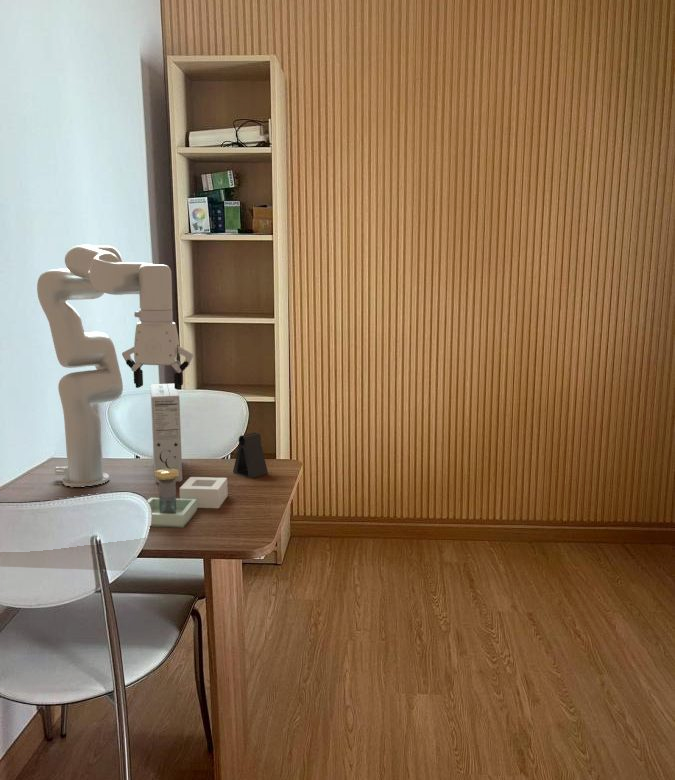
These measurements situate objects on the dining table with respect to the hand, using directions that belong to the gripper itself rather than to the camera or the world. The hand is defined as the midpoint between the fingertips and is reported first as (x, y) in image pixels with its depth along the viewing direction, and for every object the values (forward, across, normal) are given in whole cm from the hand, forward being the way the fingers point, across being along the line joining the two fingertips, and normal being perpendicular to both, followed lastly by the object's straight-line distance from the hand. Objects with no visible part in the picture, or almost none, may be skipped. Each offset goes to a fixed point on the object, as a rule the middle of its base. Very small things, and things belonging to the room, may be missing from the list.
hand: (158, 387), depth 176 cm
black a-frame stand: (+32, +15, +35) cm, 50 cm away
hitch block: (+32, +8, +9) cm, 34 cm away
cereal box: (+32, -10, +34) cm, 48 cm away
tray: (+32, +2, -4) cm, 32 cm away
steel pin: (+31, +3, -4) cm, 32 cm away
